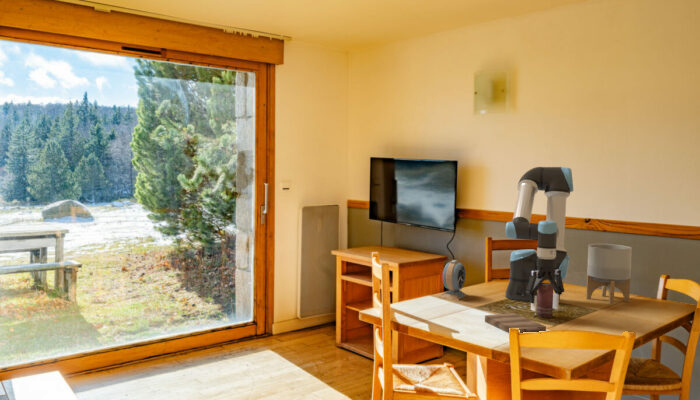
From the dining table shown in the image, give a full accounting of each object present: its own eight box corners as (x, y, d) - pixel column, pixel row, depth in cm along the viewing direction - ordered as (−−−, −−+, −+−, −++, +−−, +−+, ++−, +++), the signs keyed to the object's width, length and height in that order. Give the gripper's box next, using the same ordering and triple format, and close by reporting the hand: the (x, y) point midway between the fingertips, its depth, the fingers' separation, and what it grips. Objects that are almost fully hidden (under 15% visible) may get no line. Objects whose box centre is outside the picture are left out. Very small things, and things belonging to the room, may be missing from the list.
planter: (590, 303, 256) (592, 248, 255) (583, 294, 275) (585, 242, 273) (634, 306, 252) (636, 250, 250) (623, 297, 270) (626, 244, 269)
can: (533, 315, 233) (534, 282, 232) (545, 314, 235) (546, 281, 234) (543, 318, 227) (544, 285, 226) (555, 317, 229) (556, 284, 229)
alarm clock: (457, 300, 257) (459, 263, 256) (438, 297, 262) (439, 261, 261) (468, 294, 269) (469, 259, 268) (449, 292, 274) (450, 257, 273)
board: (484, 321, 222) (484, 315, 222) (514, 318, 226) (514, 313, 226) (518, 337, 201) (518, 331, 200) (550, 334, 205) (550, 328, 205)
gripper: (529, 260, 222) (527, 313, 224) (575, 258, 230) (572, 310, 231) (517, 257, 230) (516, 309, 231) (562, 255, 237) (560, 305, 238)
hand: (544, 309), depth 231 cm, fingers open, 10 cm apart
